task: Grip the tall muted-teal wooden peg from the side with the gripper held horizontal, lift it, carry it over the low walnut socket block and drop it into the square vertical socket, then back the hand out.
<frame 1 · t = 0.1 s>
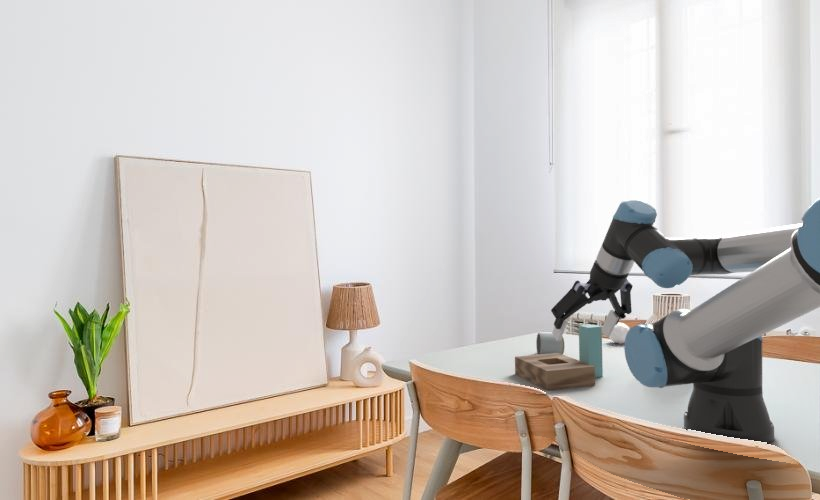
hand: (580, 335, 126), 15 cm above the table, tool tilted 35°, fingers open, 13 cm apart
geometric ball: (619, 343, 191), on the table
socket block: (553, 379, 144), on the table
teal peg: (591, 375, 147), on the table
gray can: (548, 355, 175), on the table
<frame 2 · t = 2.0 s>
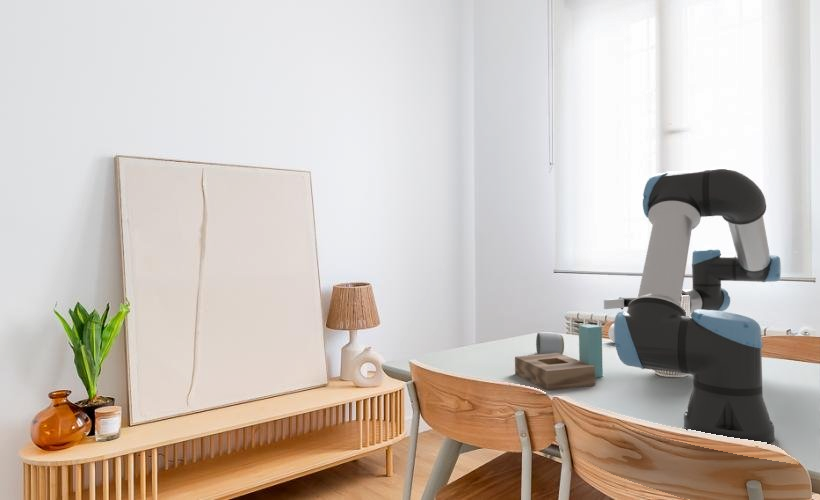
hand: (619, 307, 149), 19 cm above the table, tool horizontal, fingers open, 13 cm apart
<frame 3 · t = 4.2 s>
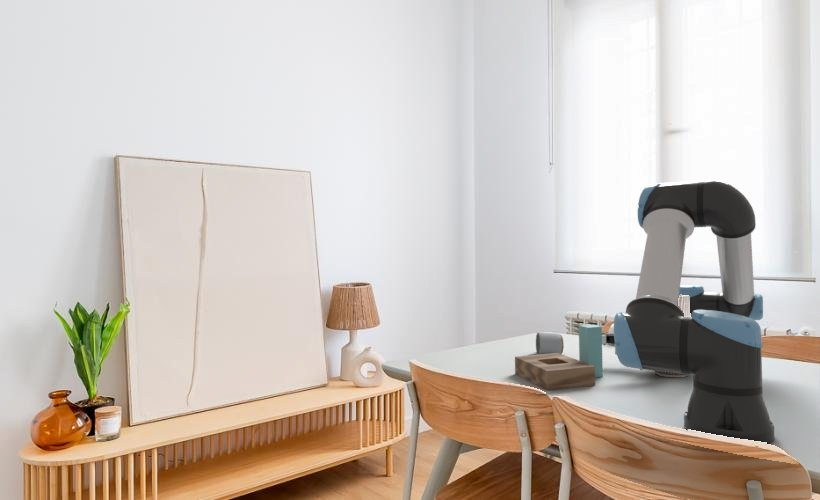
hand: (600, 345, 148), 8 cm above the table, tool horizontal, fingers open, 13 cm apart
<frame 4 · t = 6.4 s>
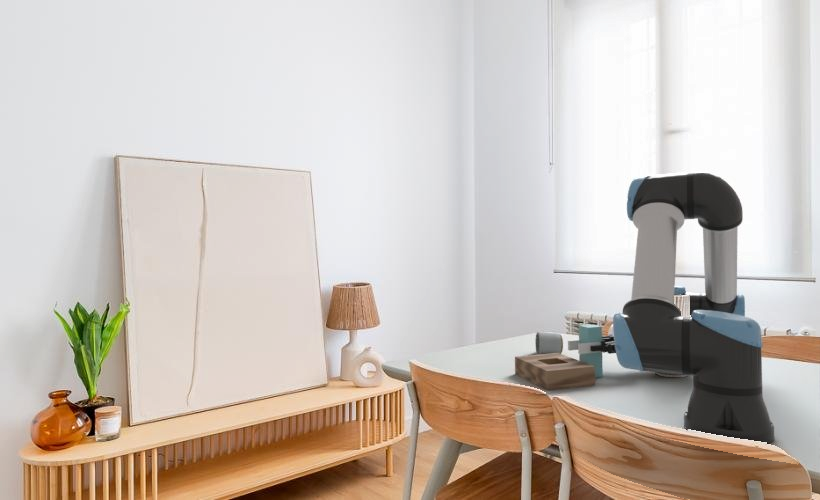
hand: (573, 347, 145), 8 cm above the table, tool horizontal, fingers closed on teal peg, 4 cm apart
teal peg: (591, 375, 147), on the table, touching gripper
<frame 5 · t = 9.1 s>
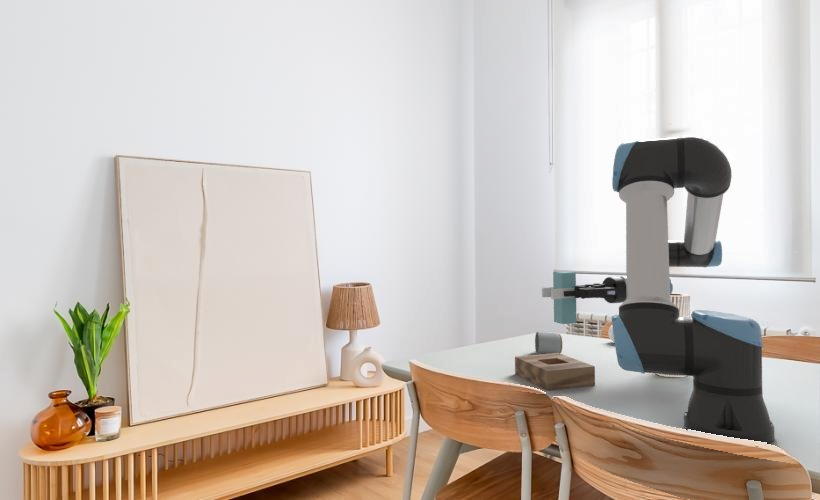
hand: (547, 293, 144), 24 cm above the table, tool horizontal, fingers closed on teal peg, 4 cm apart
teal peg: (565, 322, 145), point 15 cm above the table, touching gripper
when the fingers open (11 cm above the table, at t = 11.8 s): teal peg drops 2 cm, resting on socket block.
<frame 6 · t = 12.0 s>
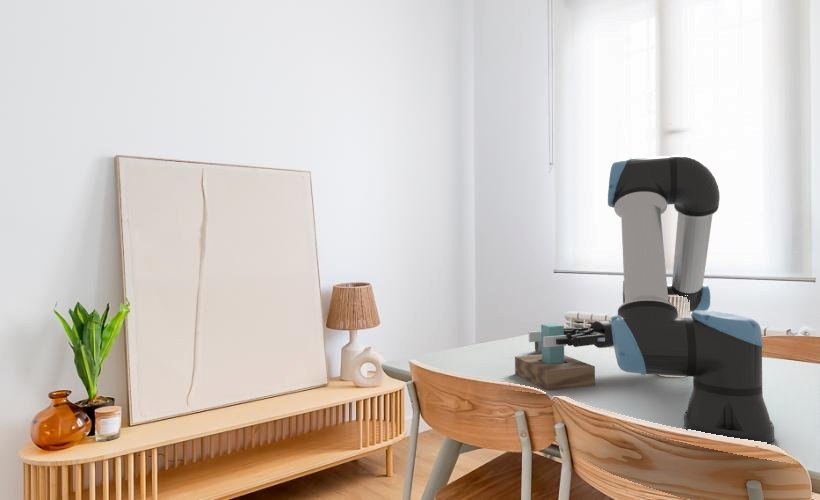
hand: (536, 339, 142), 11 cm above the table, tool horizontal, fingers open, 7 cm apart
teal peg: (553, 375, 144), point 1 cm above the table, touching socket block
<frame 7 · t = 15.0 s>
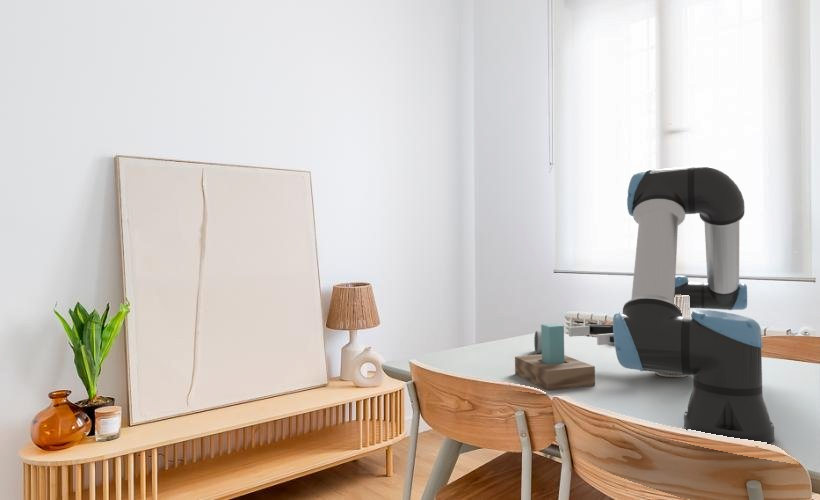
hand: (583, 335, 146), 11 cm above the table, tool horizontal, fingers open, 13 cm apart
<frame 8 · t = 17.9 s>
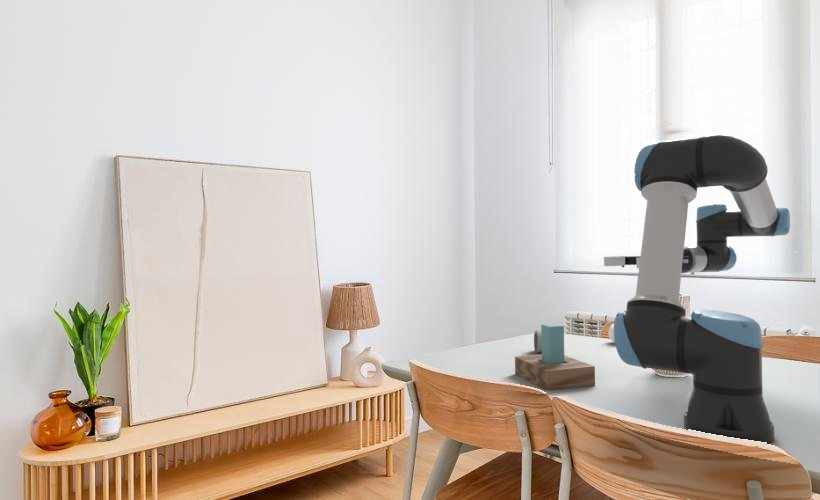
hand: (620, 262, 142), 32 cm above the table, tool horizontal, fingers open, 13 cm apart
at the end: teal peg 0.1 cm off-centre on the socket block, point 1.0 cm above the socket block's base; teal peg tilted 0°; the gripper is holding nothing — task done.
